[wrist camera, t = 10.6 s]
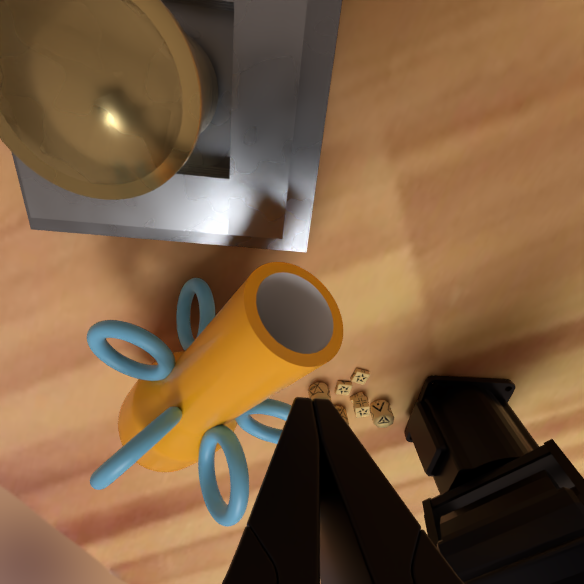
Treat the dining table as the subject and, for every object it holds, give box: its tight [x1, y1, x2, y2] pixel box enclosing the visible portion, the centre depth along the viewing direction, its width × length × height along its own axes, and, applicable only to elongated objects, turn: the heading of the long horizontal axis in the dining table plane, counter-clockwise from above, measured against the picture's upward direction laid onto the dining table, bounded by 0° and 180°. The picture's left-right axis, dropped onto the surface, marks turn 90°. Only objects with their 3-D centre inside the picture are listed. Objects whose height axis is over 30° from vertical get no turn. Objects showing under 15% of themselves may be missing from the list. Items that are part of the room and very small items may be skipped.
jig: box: [12, 0, 342, 252], centre depth 15 cm, size 14×14×3 cm
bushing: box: [0, 0, 218, 200], centre depth 12 cm, size 5×5×8 cm
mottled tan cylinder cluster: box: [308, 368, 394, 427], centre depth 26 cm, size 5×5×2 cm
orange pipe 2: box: [87, 262, 343, 526], centre depth 18 cm, size 12×10×15 cm
